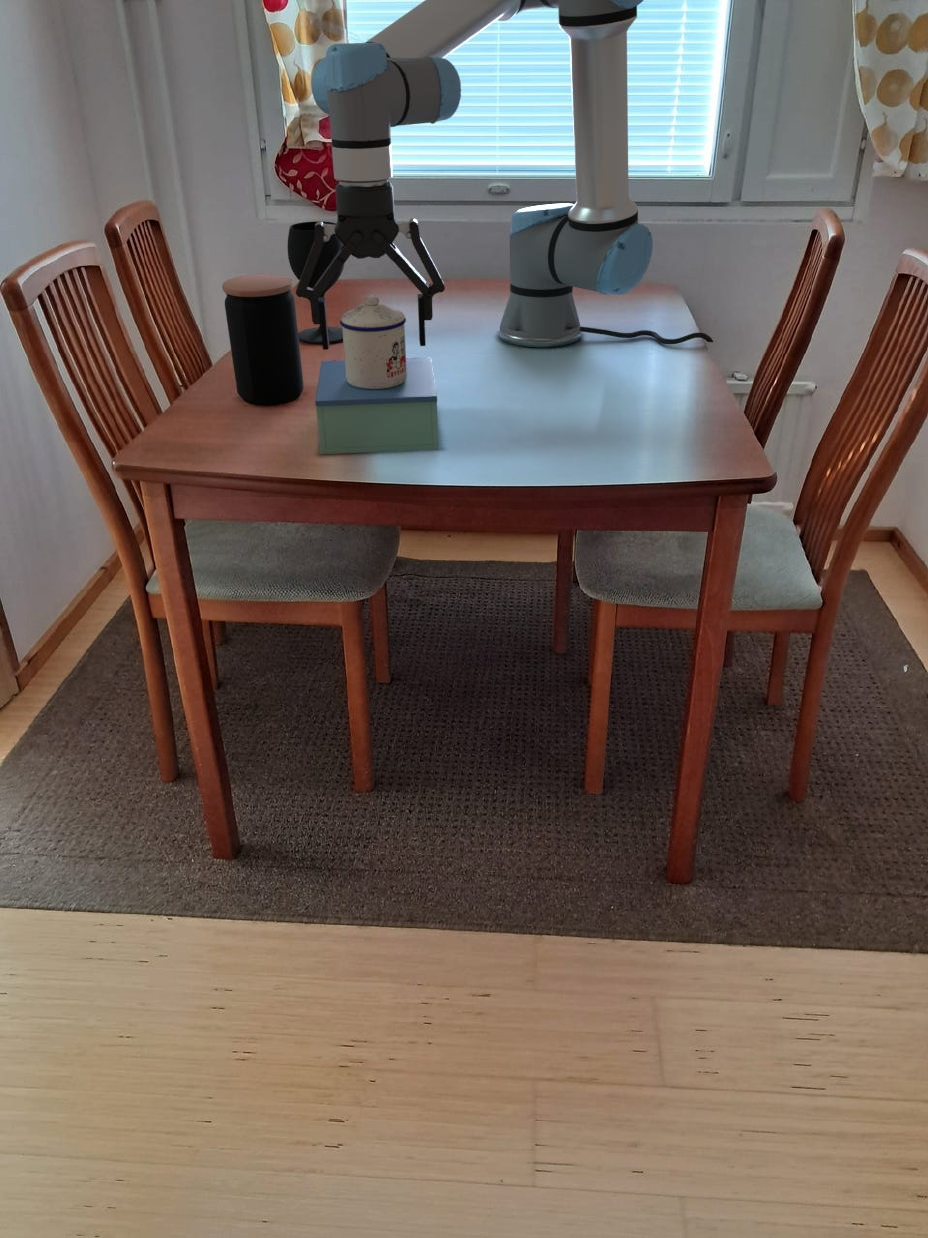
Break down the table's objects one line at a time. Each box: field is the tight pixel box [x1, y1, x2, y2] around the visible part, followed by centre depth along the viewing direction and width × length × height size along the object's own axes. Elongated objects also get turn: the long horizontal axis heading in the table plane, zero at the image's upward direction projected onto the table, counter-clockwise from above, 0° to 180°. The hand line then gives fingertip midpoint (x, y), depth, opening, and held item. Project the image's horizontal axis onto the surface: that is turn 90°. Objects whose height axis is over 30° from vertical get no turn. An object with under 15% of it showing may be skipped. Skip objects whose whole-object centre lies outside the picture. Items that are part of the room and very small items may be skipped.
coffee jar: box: [221, 273, 305, 407], centre depth 151 cm, size 11×11×18 cm
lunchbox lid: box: [314, 356, 438, 407], centre depth 138 cm, size 17×17×1 cm
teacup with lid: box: [339, 295, 407, 389], centre depth 135 cm, size 12×9×12 cm
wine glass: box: [287, 220, 346, 345], centre depth 178 cm, size 10×10×20 cm
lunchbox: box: [315, 401, 439, 455], centre depth 141 cm, size 17×17×7 cm
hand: (374, 345), depth 135 cm, fingers open, 13 cm apart
